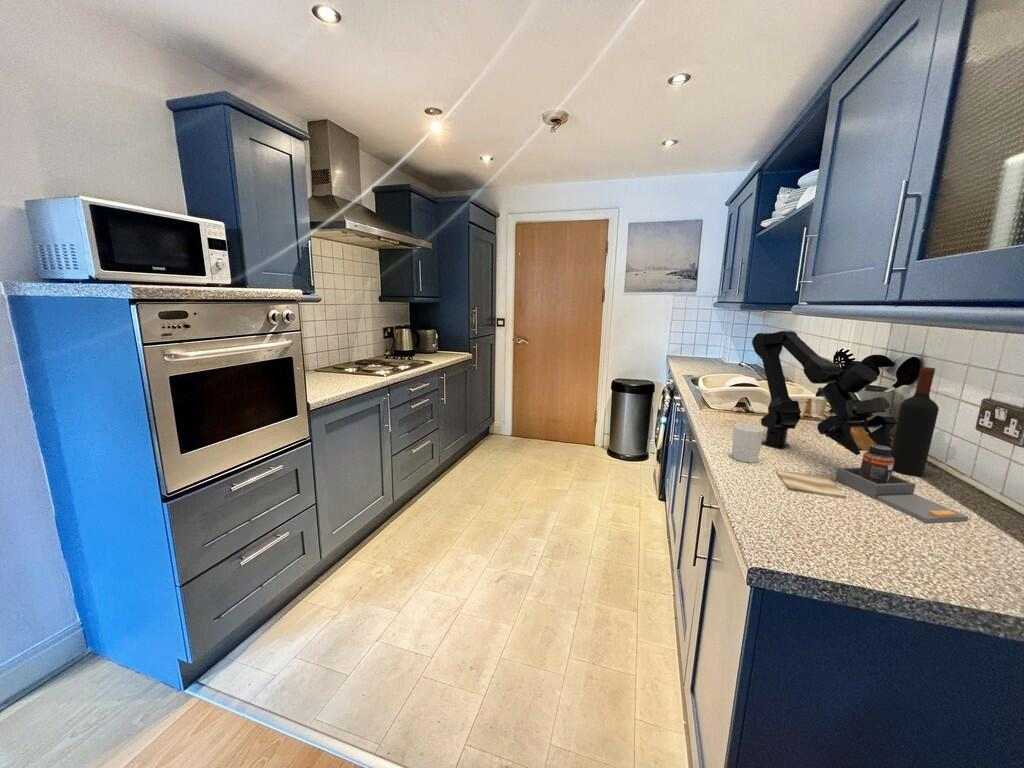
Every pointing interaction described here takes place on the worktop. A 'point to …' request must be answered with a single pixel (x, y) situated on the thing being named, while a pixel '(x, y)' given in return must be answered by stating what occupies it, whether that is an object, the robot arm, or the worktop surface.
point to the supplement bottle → (877, 464)
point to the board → (810, 484)
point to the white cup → (747, 442)
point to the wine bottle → (915, 428)
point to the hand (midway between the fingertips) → (874, 454)
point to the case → (899, 497)
